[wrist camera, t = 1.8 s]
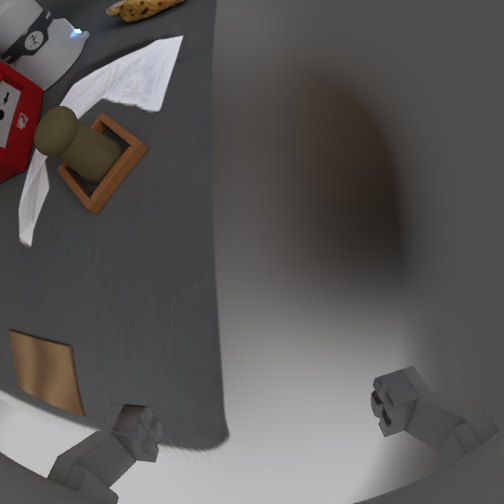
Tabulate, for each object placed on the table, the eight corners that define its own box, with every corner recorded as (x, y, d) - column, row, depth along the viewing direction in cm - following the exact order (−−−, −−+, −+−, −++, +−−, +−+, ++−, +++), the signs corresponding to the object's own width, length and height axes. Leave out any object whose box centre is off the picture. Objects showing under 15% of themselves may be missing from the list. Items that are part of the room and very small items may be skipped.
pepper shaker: (78, 178, 29) (18, 147, 18) (99, 137, 29) (47, 96, 18) (107, 191, 28) (42, 157, 17) (130, 145, 28) (76, 98, 17)
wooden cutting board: (21, 387, 27) (18, 388, 27) (10, 329, 28) (8, 329, 28) (85, 415, 26) (82, 417, 25) (71, 346, 27) (68, 346, 26)
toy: (125, -18, 26) (95, 7, 25) (194, -24, 27) (166, -1, 26) (131, 1, 32) (104, 27, 31) (196, -2, 33) (172, 24, 31)
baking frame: (66, 174, 29) (57, 170, 27) (109, 118, 29) (101, 111, 27) (98, 214, 28) (88, 210, 26) (149, 149, 28) (141, 141, 26)
